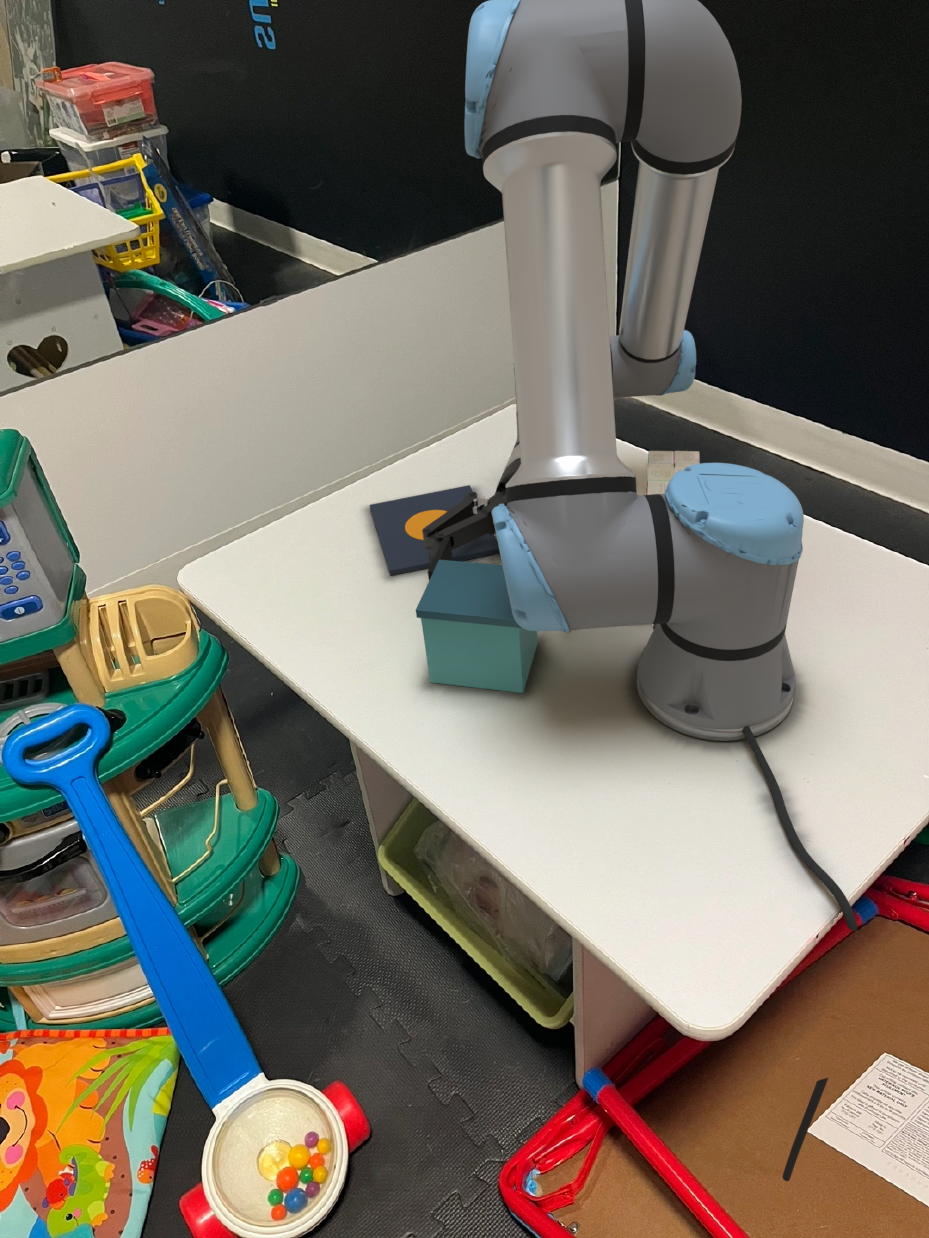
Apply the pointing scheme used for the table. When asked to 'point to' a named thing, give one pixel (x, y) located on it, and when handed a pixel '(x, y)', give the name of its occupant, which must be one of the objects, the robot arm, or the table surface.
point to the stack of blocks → (667, 468)
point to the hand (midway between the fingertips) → (492, 587)
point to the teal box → (474, 629)
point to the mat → (404, 530)
